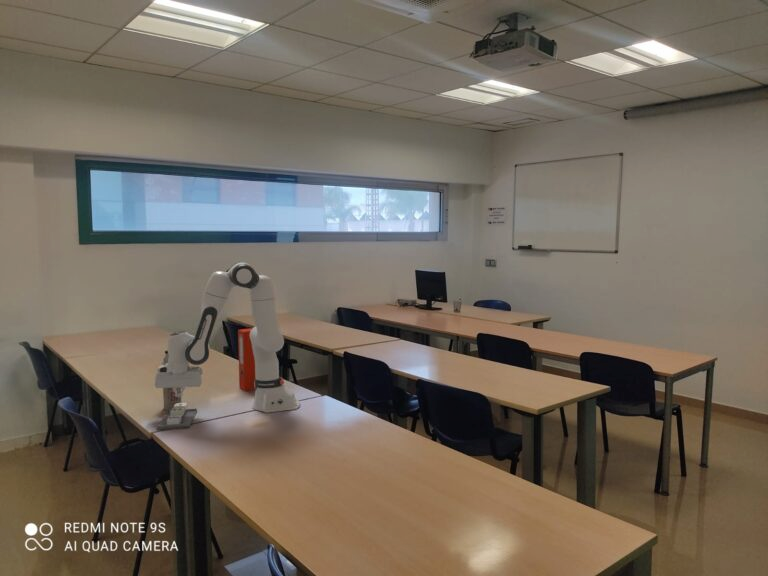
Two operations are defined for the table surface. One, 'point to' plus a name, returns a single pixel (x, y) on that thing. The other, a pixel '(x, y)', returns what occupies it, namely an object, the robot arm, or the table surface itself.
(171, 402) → the thermos bottle
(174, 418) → the key three
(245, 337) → the file binder
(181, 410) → the key two
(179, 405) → the key one
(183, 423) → the keypad board
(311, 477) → the table surface
